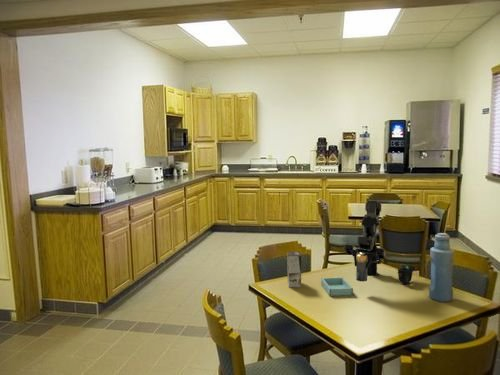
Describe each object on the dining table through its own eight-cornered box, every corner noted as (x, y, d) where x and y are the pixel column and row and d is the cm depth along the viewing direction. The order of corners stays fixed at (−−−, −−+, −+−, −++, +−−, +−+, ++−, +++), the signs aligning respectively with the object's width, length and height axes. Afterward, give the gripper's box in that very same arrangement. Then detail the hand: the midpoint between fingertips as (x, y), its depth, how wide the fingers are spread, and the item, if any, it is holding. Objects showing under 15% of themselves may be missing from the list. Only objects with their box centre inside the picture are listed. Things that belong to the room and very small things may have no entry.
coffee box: (301, 287, 198) (301, 255, 196) (288, 287, 198) (288, 255, 196) (299, 281, 207) (299, 251, 205) (287, 281, 207) (287, 251, 205)
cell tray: (321, 284, 201) (321, 278, 201) (342, 284, 202) (342, 277, 201) (329, 296, 185) (329, 289, 185) (352, 295, 186) (352, 288, 185)
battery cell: (354, 278, 190) (354, 251, 188) (365, 277, 190) (365, 251, 189) (358, 281, 185) (358, 254, 183) (368, 281, 185) (369, 254, 184)
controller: (395, 284, 200) (396, 265, 199) (407, 278, 208) (408, 260, 207) (404, 286, 197) (404, 266, 196) (415, 280, 205) (416, 262, 204)
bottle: (455, 303, 176) (458, 236, 173) (431, 301, 178) (433, 235, 175) (449, 295, 185) (451, 231, 182) (426, 293, 187) (428, 231, 184)
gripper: (345, 227, 193) (337, 255, 185) (385, 231, 183) (378, 260, 175) (350, 240, 201) (343, 267, 193) (388, 244, 191) (382, 273, 183)
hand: (360, 266), depth 186 cm, fingers closed on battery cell, 5 cm apart
